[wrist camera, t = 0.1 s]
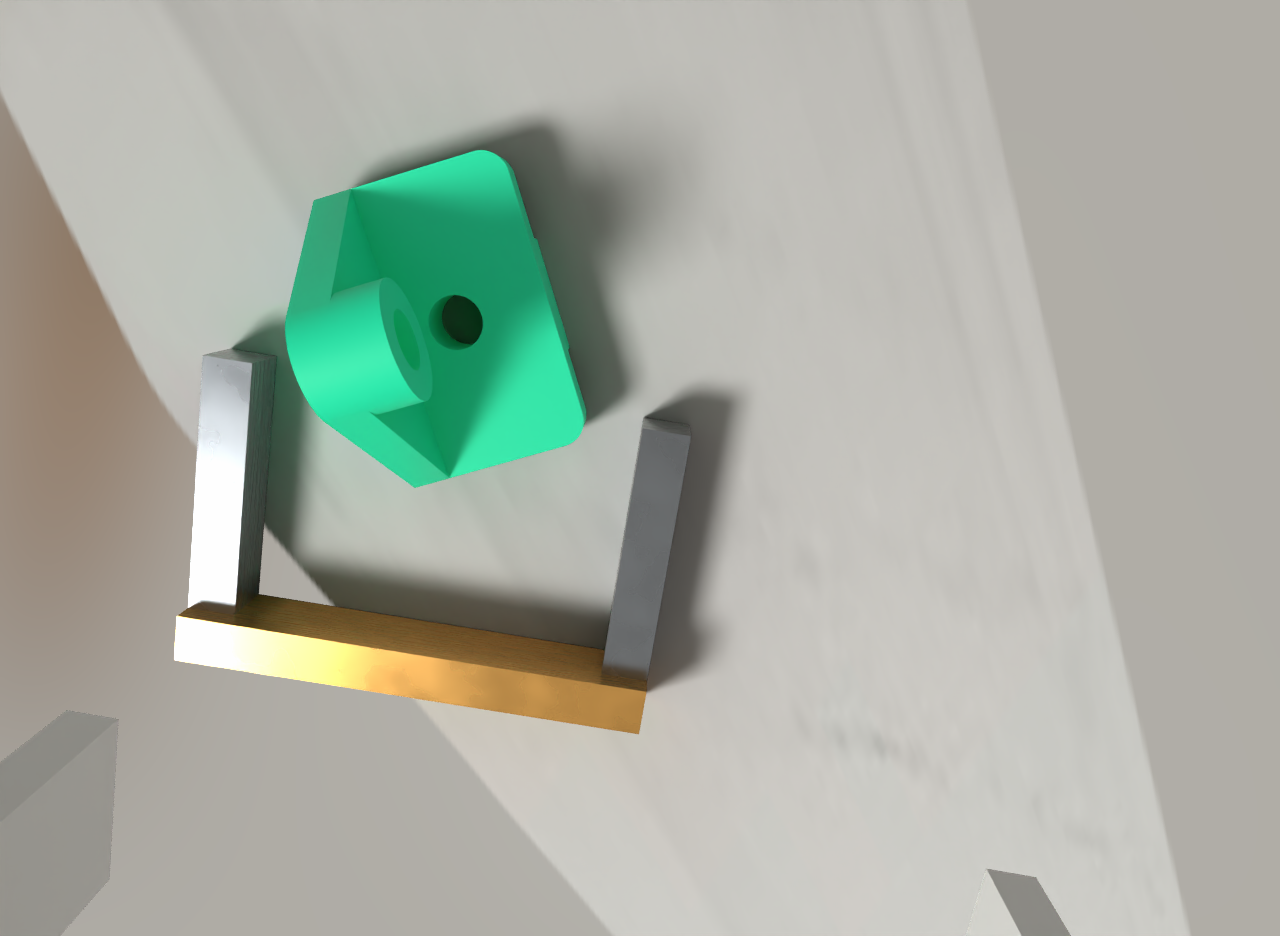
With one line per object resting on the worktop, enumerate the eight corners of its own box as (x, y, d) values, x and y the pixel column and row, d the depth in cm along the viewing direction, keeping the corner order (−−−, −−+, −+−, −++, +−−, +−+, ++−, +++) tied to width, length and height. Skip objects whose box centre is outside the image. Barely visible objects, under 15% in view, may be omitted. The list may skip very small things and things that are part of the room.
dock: (230, 348, 40) (190, 358, 37) (689, 425, 41) (692, 441, 37) (212, 627, 43) (174, 660, 40) (640, 696, 44) (638, 734, 40)
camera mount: (594, 426, 41) (574, 484, 31) (429, 473, 42) (357, 544, 32) (510, 149, 39) (458, 115, 29) (336, 203, 39) (225, 188, 29)
